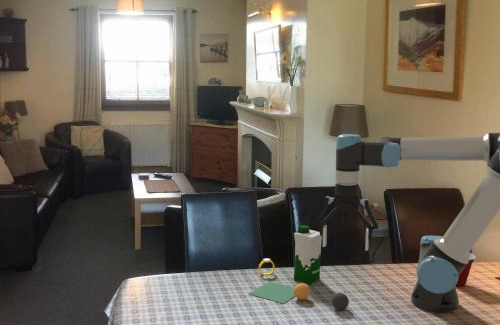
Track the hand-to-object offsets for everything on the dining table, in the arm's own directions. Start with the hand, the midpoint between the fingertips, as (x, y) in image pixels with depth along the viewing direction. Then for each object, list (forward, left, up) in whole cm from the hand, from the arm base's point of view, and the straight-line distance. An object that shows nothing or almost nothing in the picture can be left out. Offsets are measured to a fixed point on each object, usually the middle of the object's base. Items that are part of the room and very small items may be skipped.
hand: (345, 247), depth 182 cm
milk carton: (+21, -14, -20) cm, 32 cm away
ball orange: (+14, +3, -17) cm, 22 cm away
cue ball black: (0, +3, -17) cm, 17 cm away
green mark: (+24, +3, -20) cm, 31 cm away
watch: (+36, -10, -20) cm, 42 cm away
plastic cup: (-26, -43, -20) cm, 54 cm away
